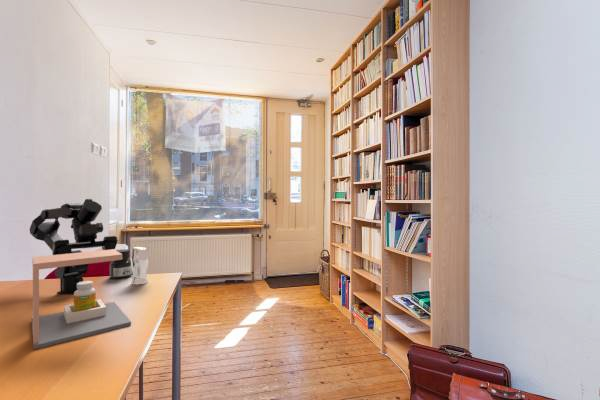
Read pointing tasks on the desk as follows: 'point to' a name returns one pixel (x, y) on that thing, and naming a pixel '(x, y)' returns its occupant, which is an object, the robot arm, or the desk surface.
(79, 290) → the supplement bottle
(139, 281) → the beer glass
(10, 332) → the desk surface
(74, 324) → the awning socket
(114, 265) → the ink bottle
